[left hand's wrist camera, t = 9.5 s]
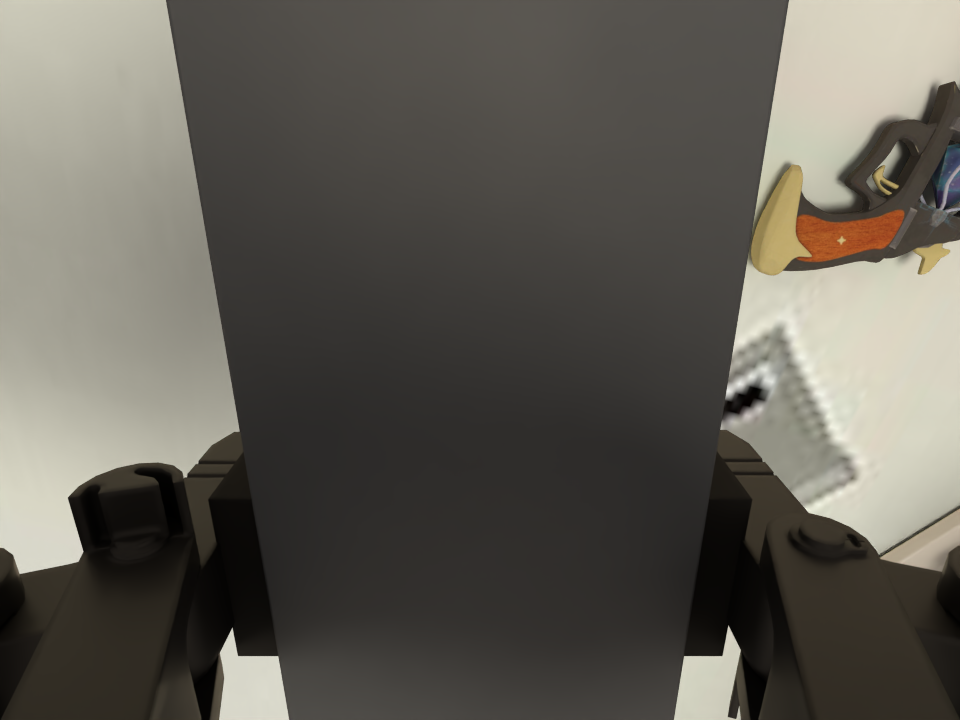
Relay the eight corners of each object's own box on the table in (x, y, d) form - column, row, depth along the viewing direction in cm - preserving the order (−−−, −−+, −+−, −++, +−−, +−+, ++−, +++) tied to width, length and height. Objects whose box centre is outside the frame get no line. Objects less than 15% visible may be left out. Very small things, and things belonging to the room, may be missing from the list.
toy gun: (748, 266, 30) (933, 341, 30) (971, -165, 25) (1194, -73, 25) (731, 261, 32) (901, 330, 32) (929, -129, 27) (1131, -47, 27)
